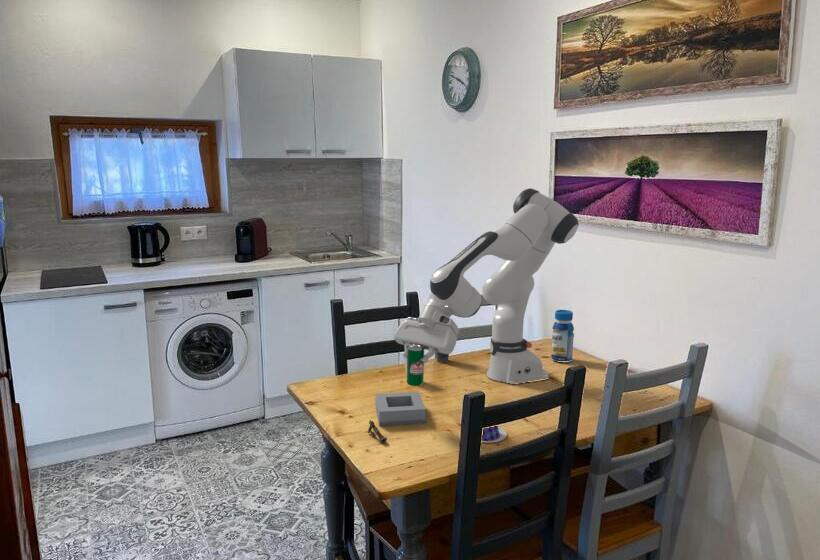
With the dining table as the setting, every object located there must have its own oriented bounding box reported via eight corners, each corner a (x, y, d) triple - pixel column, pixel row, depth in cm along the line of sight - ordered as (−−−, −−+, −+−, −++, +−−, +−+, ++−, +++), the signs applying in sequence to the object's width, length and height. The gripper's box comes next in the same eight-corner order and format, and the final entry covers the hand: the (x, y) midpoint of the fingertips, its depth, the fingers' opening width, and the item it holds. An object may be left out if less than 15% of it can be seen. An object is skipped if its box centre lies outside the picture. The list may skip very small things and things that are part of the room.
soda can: (409, 387, 178) (410, 348, 176) (404, 381, 183) (405, 343, 181) (425, 385, 180) (426, 347, 178) (420, 380, 185) (421, 342, 183)
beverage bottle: (576, 363, 235) (579, 313, 232) (556, 364, 234) (558, 314, 230) (566, 356, 243) (568, 308, 240) (547, 357, 242) (549, 309, 238)
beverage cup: (448, 364, 233) (449, 315, 230) (430, 362, 236) (431, 313, 232) (453, 359, 240) (454, 310, 236) (436, 357, 243) (436, 309, 239)
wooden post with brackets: (369, 428, 176) (372, 417, 174) (383, 448, 171) (387, 437, 169) (364, 430, 175) (367, 419, 173) (378, 450, 170) (382, 439, 167)
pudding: (479, 423, 182) (479, 406, 181) (514, 433, 175) (514, 417, 174) (456, 436, 173) (457, 419, 172) (492, 449, 166) (493, 431, 165)
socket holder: (418, 404, 195) (418, 391, 194) (425, 423, 181) (425, 409, 181) (375, 407, 193) (375, 394, 192) (379, 425, 180) (379, 411, 179)
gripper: (401, 310, 189) (382, 348, 184) (456, 320, 178) (438, 361, 172) (409, 321, 194) (391, 358, 188) (464, 331, 182) (446, 371, 176)
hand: (414, 359), depth 180 cm, fingers closed on soda can, 5 cm apart
